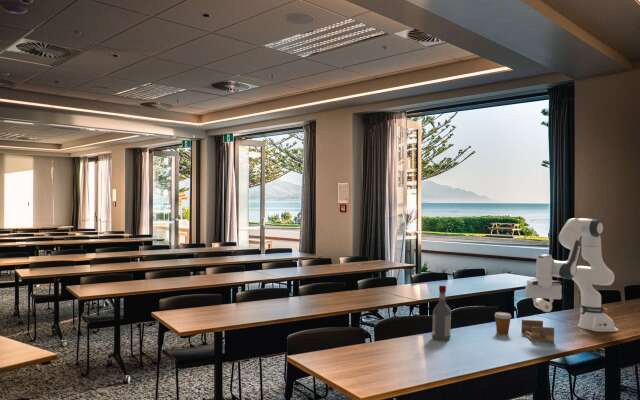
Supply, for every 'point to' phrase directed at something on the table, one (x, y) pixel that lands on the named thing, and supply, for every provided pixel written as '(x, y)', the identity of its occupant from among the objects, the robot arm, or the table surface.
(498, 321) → the disposable coffee cup
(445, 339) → the liquor
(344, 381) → the table surface
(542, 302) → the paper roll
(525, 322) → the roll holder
